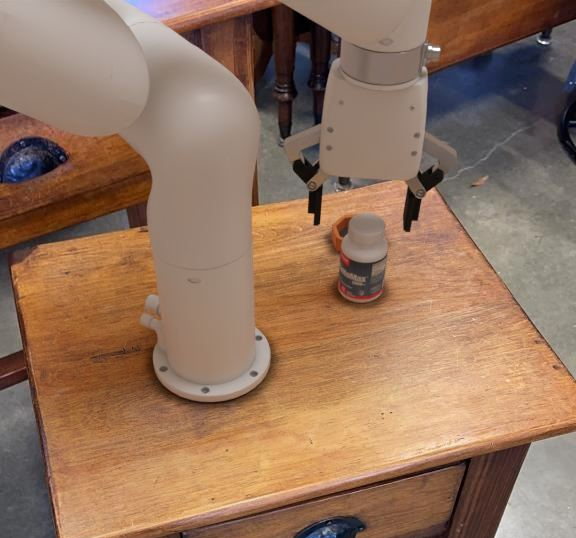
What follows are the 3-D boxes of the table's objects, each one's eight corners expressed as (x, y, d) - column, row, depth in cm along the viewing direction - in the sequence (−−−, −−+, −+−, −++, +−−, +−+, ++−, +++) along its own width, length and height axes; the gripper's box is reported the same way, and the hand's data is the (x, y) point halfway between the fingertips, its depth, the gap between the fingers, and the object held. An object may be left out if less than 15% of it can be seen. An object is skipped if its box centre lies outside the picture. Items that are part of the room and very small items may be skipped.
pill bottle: (328, 289, 97) (332, 223, 90) (356, 269, 99) (363, 203, 92) (363, 310, 95) (370, 244, 87) (391, 288, 97) (400, 222, 90)
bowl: (323, 245, 102) (324, 232, 100) (348, 221, 105) (349, 208, 103) (365, 262, 100) (366, 250, 98) (390, 237, 103) (391, 224, 101)
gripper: (473, 43, 78) (440, 207, 91) (289, 31, 78) (284, 196, 91) (479, 81, 73) (443, 248, 87) (284, 68, 73) (279, 236, 87)
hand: (361, 221), depth 89 cm, fingers open, 9 cm apart
